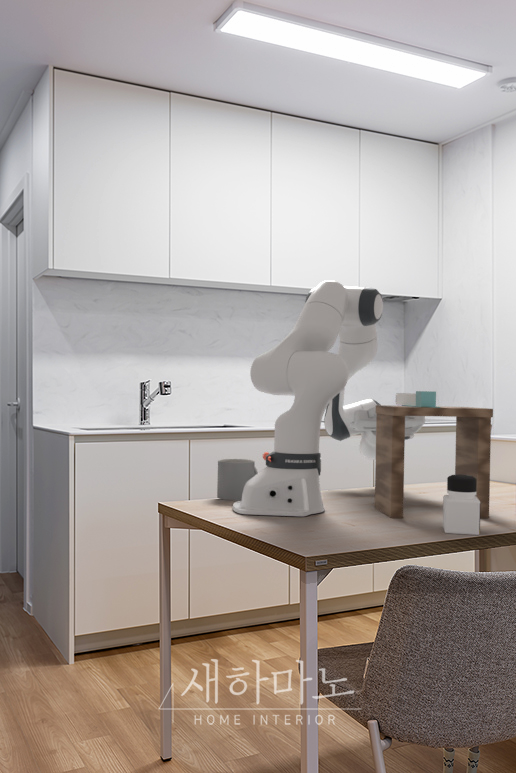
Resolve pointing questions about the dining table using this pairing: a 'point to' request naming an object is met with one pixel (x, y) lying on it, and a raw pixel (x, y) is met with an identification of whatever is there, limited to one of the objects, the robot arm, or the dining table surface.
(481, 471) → the shelf
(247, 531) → the dining table surface
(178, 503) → the dining table surface
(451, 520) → the medicine bottle
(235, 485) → the coffee mug
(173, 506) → the dining table surface
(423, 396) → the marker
